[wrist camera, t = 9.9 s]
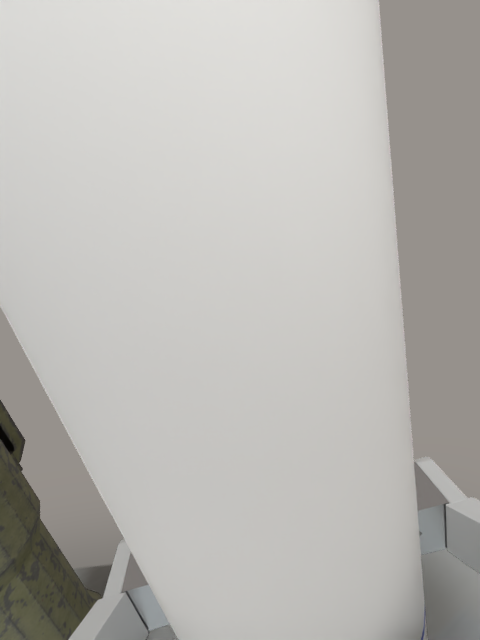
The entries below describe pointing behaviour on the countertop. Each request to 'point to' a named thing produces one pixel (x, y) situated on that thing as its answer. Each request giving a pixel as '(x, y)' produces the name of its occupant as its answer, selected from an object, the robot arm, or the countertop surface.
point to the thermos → (32, 558)
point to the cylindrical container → (220, 300)
